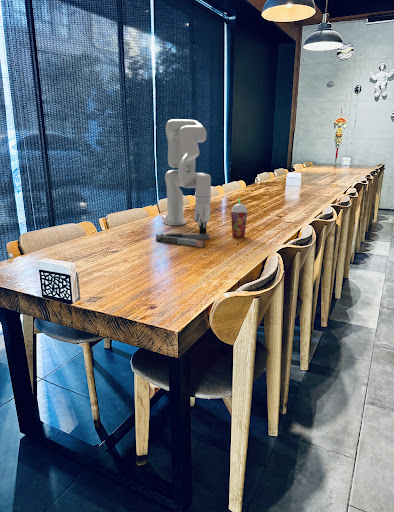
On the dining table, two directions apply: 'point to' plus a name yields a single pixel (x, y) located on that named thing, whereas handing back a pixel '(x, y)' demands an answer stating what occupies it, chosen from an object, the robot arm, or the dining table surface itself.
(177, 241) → the bar
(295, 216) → the dining table surface
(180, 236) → the tongs moving jaw
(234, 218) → the smoothie
